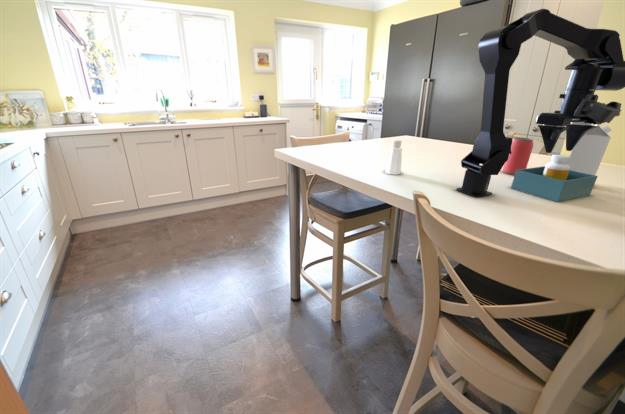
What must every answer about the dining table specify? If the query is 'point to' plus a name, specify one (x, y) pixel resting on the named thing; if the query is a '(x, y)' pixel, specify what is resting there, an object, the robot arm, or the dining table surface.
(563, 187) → the bin
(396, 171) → the salt shaker
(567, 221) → the dining table surface
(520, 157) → the beer can
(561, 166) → the supplement bottle
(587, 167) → the milk carton
